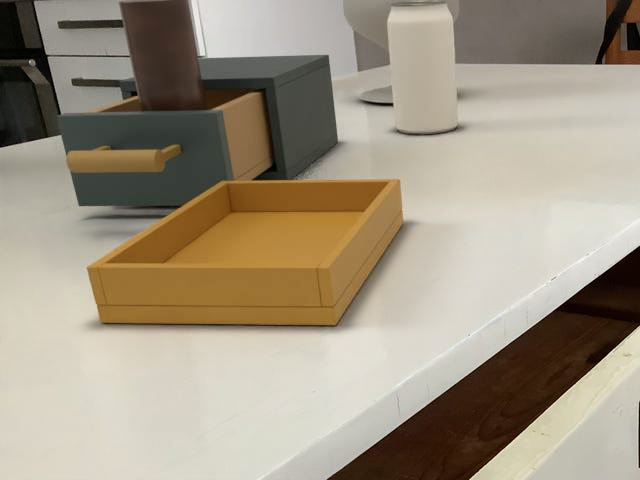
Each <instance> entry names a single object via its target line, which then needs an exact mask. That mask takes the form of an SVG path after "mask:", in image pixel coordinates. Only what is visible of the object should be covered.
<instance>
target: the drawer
mask: <svg viewBox="0 0 640 480" xmlns="http://www.w3.org/2000/svg"><path fill="white" fill-rule="evenodd" d="M265 89H266V88H259V89H216V90H204V94H205V100H206V106H207V110H191V111H142V112H141V108H140V103H139V98H138V96H135V97H132V98H129V99H126V100H123V99H122V100H120V101H116V102H113V103H110V104H107V105H105V106H102V107H98V108H95V109H92V110H89V111H87V112H65V113H62V114H58V115H56V120H57V124H58V129H59V133H60V137H61V141H62V146H63V148H64V153H65V157H66V165H67V168H68V170H69V173H70V177H71V181H72V184H73V189H74V193H75V196H76V197H75V198H76V200H77V205H78V206H79V207H160V206H161V207H169V206H171V207H177V206H179V207H182V206H183V205H185V204H186V203H188V202H190V201H191V200H193V199H194V198H196V197H197V196H199V195H201V194H202V193H204V192H205V191H207V190H208V189H210V188H212V187H213V186H215V185H216V184H218V183H219V182H221V181H251V180H252V179H254V178H255V177H256V176H258V175H259V174H261V173H262V172H264V171H265V170H267V169H268V168H269V167H271V166H272V165H274V164H275V163H276V160H275V153H274V146H273V139H272V132H271V125H270V118H269V111H268V104H267V97H266V90H265Z"/></svg>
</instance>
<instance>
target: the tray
mask: <svg viewBox="0 0 640 480" xmlns="http://www.w3.org/2000/svg"><path fill="white" fill-rule="evenodd" d="M401 185H402V184H401V179H400V178H375V179H374V178H373V179H371V178H370V179H369V178H368V179H365V178H364V179H362V178H361V179H291V180H260V181H221V182H219V183H218V184H216V185H215V186H213V187H212V188H210V189H208V190H207V191H205V192H204V193H202V194H201V195H199V196H197V197H196V198H194V199H193V200H191V201H190V202H188V203H186V204H185V205H183V206H179V208H177V209H175V210H173V212H171V213H169V214H168V215H166V216H165V217H162V219H160V220H158V221H157V222H156V223H154V224H151V225H150V226H149V227H147V228H146V229H144V230H143V231H141V232H139V233H137V234H136V235H135V236H133V237H131V238H130V239H129V240H126V241H125V242H124V243H122V244H120V245H119V246H117V247H116V248H115V249H113V250H111V251H110V252H108V253H106V254H105V255H103V256H102V257H100V258H99V259H97V260H96V261H94V262H92V263H91V264H89V265H88V266H86V271H87V274H88V278H89V282H90V287H91V291H92V295H93V298H94V303H95V305H96V309H97V313H98V317H99V322H100V323H102V324H166V325H167V324H168V325H169V324H172V325H173V324H174V325H175V324H177V325H178V324H180V325H181V324H182V325H184V324H185V325H261V326H262V325H268V326H269V325H271V326H273V325H274V326H275V325H276V326H277V325H278V326H337V323H338V322H339V321H340V320H341V318H342V317H343V314H344V313H345V312H346V310H347V309H348V307H349V306H350V304H351V303H352V301H353V300H354V298H355V297H356V295H357V293H358V292H359V291H360V289H361V288H362V286H363V285H364V284H365V282H366V280H367V279H368V277H369V276H370V274H371V273H372V271H373V270H374V268H375V267H376V266H377V264H378V262H379V261H380V259H381V257H382V256H383V254H384V253H385V252H386V250H387V248H388V247H389V245H390V244H391V242H392V241H393V239H394V238H395V236H396V235H397V233H398V232H399V231H400V229H401V227H402V226H403V224H404V212H403V211H404V210H403V199H402V197H403V196H402V187H401Z"/></svg>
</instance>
